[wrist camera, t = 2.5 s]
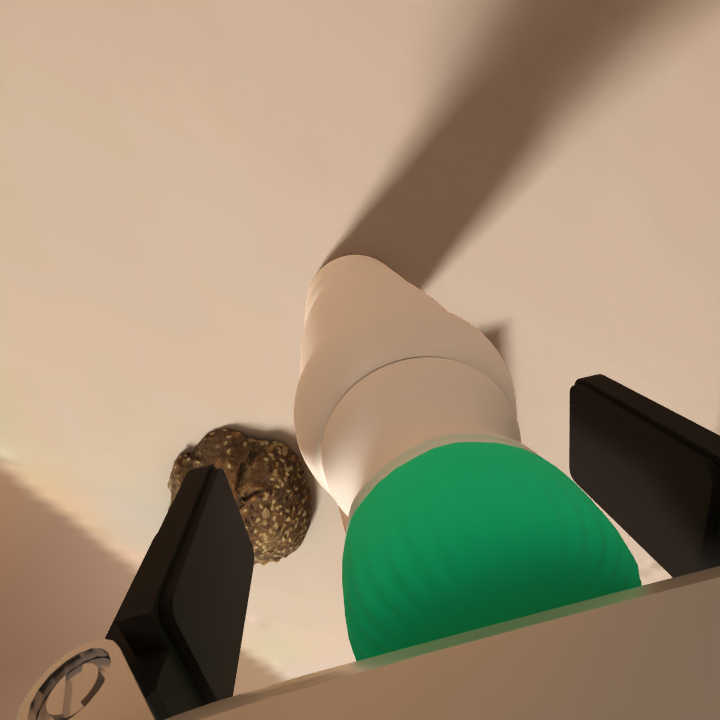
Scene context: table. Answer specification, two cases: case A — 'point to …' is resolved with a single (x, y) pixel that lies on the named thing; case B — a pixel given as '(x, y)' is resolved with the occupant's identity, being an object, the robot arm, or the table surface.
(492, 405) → the water bottle
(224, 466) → the bread roll
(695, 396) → the table surface
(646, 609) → the robot arm
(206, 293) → the table surface
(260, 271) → the table surface
